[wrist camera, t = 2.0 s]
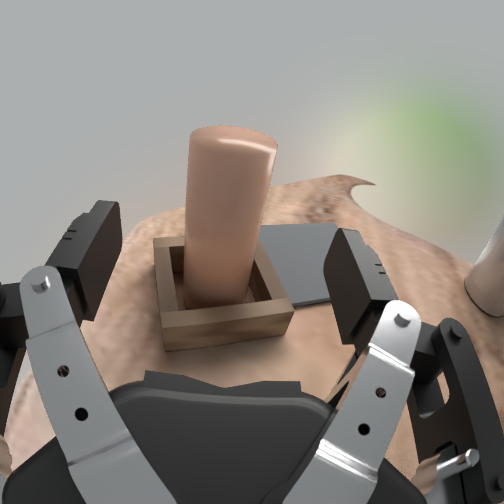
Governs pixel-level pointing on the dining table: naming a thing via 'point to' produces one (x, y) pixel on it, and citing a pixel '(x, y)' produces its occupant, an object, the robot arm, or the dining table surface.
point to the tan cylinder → (224, 212)
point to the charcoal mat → (299, 258)
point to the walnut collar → (225, 317)
